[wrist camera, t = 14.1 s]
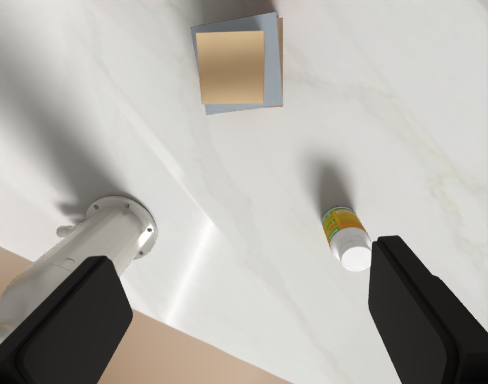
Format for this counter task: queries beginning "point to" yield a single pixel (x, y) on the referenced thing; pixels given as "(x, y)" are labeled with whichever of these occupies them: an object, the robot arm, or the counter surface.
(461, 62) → the counter surface
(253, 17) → the grey square block
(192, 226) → the counter surface
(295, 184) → the counter surface
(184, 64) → the counter surface
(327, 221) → the supplement bottle
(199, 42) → the oak block
